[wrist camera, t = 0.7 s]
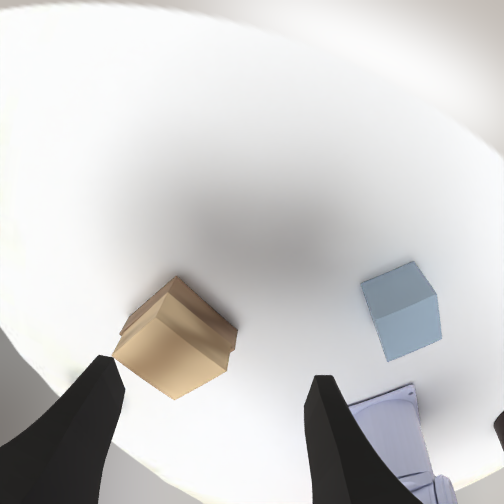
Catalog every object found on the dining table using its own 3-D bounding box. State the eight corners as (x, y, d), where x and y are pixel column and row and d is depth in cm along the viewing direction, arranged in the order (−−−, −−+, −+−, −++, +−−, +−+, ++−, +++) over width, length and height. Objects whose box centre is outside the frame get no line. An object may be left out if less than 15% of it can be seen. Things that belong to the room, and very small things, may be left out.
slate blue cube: (422, 303, 21) (441, 338, 17) (374, 323, 22) (387, 362, 18) (413, 260, 19) (436, 293, 16) (360, 282, 20) (374, 320, 17)
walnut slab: (238, 326, 23) (234, 349, 21) (186, 359, 25) (179, 381, 23) (178, 272, 21) (167, 292, 19) (130, 313, 23) (119, 334, 21)
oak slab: (231, 344, 21) (226, 371, 18) (181, 375, 23) (174, 400, 20) (167, 292, 19) (155, 317, 17) (124, 332, 21) (111, 355, 19)
